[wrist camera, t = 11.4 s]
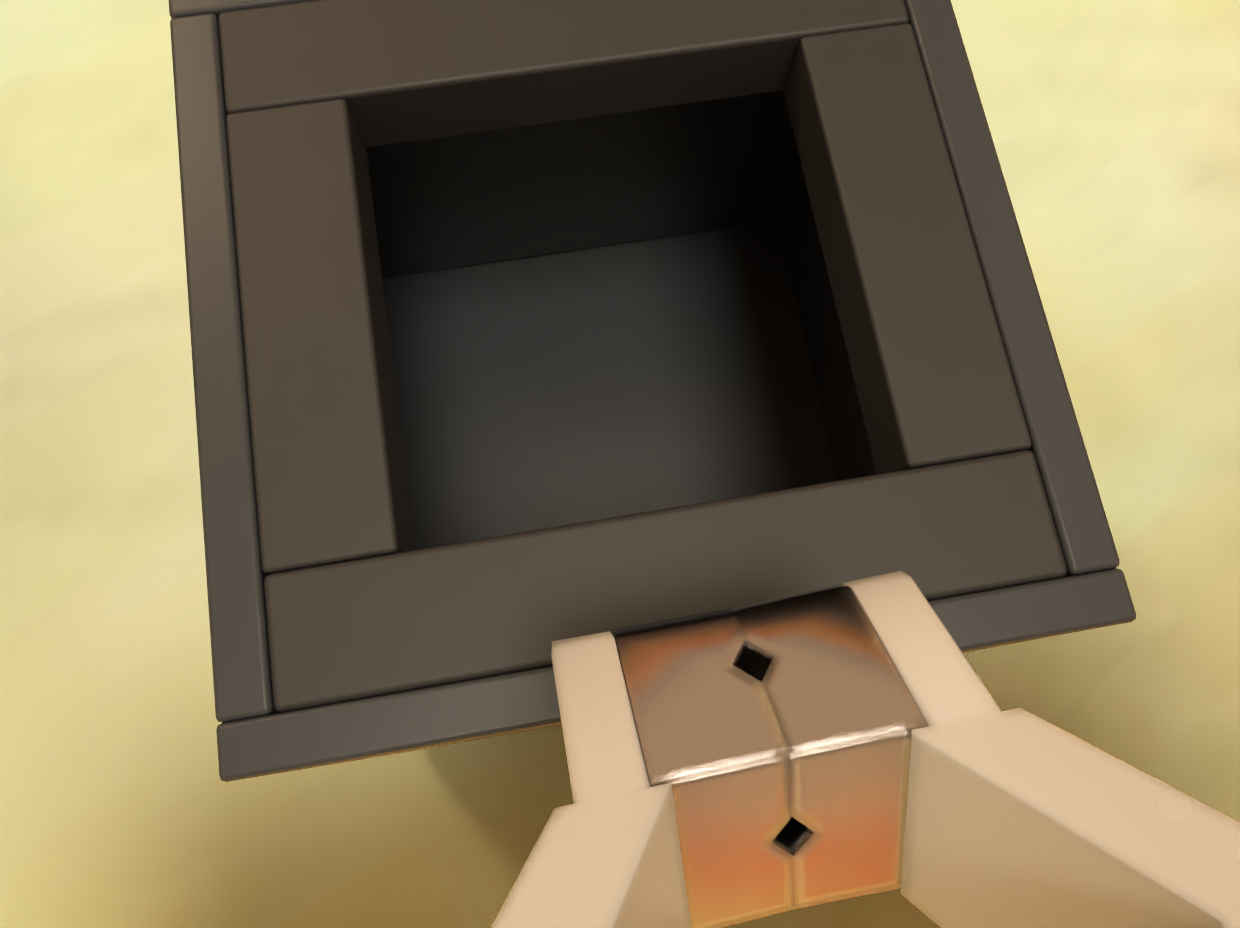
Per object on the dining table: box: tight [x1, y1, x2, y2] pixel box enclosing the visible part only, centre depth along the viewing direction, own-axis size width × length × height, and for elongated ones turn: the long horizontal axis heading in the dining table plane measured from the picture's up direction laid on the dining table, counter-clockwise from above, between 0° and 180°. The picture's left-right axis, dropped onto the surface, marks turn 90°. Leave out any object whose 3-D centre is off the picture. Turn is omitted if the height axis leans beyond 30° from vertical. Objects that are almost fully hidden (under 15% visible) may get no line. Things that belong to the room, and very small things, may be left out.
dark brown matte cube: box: [169, 0, 1136, 782], centre depth 17 cm, size 11×10×10 cm
